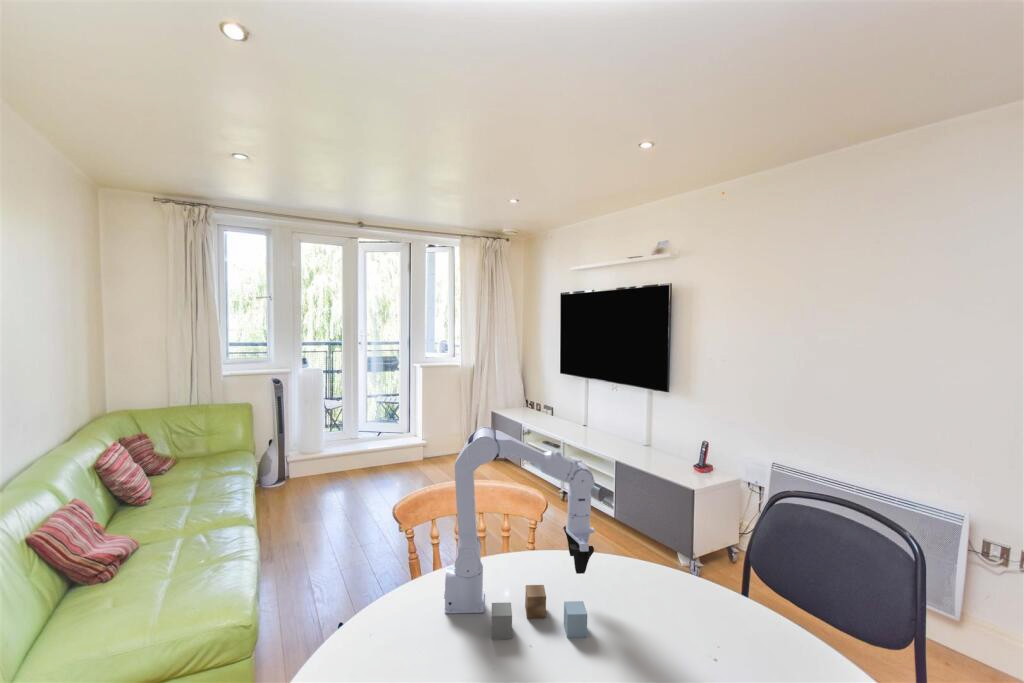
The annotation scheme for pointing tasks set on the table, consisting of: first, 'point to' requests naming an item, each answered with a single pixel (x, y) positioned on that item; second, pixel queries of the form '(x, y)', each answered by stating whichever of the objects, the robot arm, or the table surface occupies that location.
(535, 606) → the walnut block
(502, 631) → the grey block
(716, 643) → the table surface
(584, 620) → the slate block
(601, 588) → the table surface
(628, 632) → the table surface
